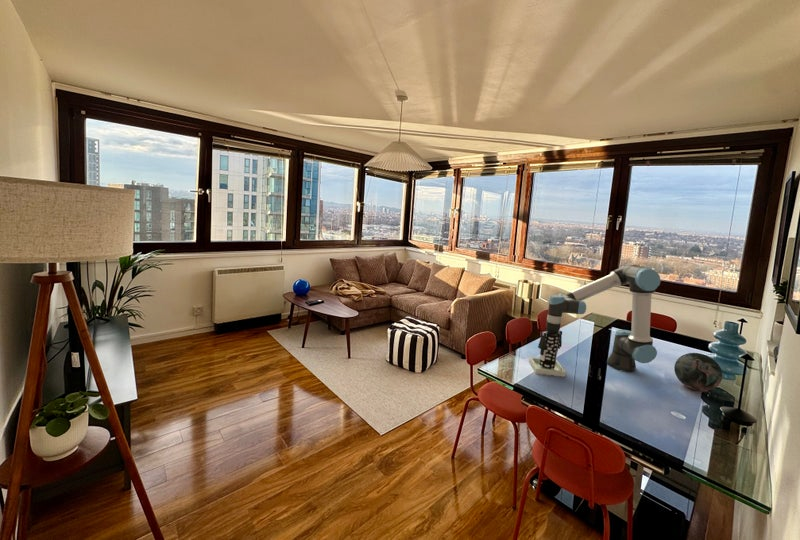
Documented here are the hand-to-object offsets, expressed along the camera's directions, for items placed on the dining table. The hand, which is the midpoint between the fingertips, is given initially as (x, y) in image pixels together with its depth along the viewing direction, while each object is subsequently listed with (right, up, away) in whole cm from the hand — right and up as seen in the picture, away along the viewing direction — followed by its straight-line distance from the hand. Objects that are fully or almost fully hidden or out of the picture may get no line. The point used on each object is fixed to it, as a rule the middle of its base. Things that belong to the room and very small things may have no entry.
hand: (547, 359), depth 203 cm
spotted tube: (0, -4, +1) cm, 4 cm away
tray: (0, -6, +1) cm, 6 cm away
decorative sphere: (+76, -14, -10) cm, 78 cm away
